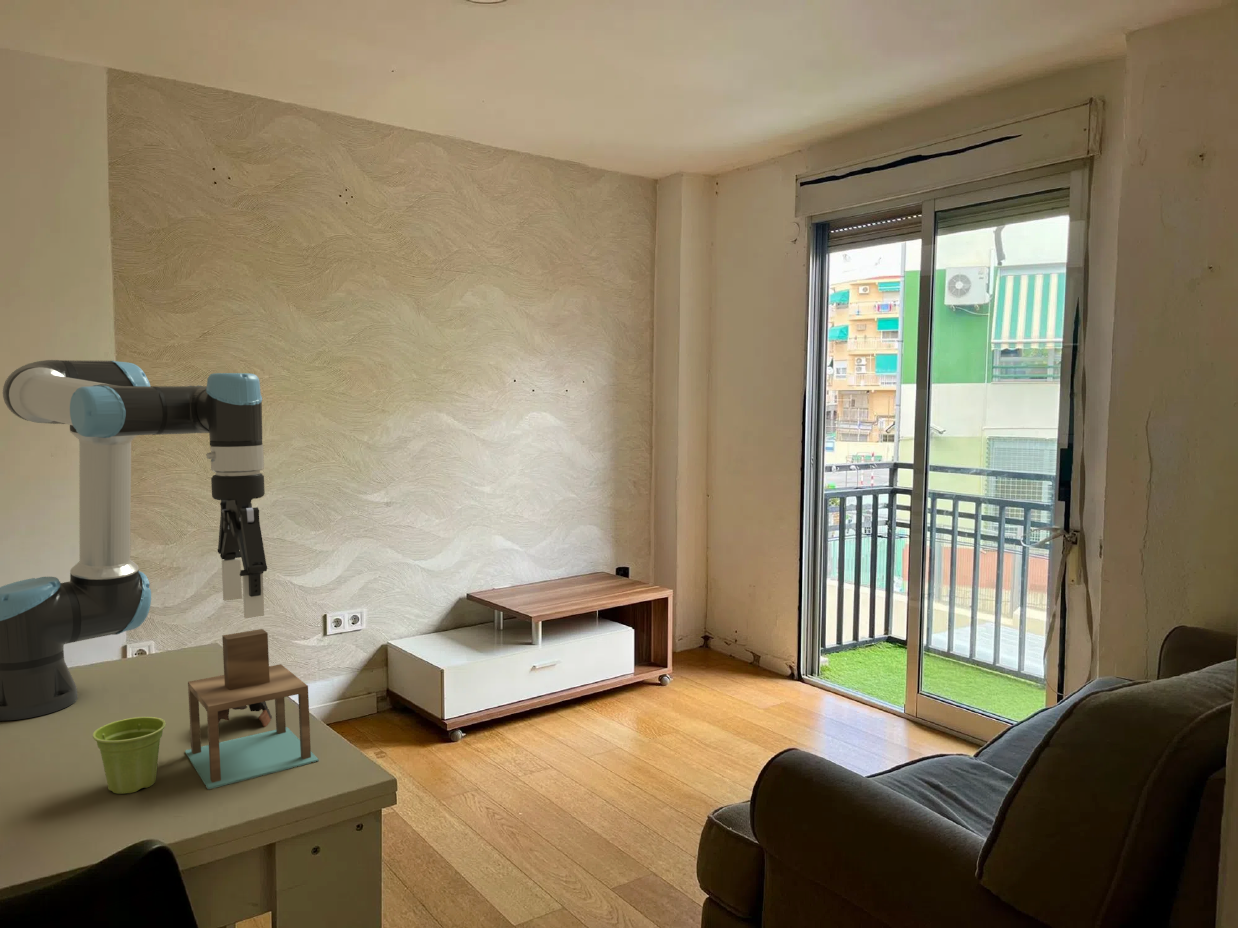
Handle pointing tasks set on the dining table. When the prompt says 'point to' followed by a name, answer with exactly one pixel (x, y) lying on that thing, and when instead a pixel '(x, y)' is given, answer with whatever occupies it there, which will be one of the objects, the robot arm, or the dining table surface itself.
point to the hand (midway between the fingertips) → (243, 607)
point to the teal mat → (251, 757)
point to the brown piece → (245, 692)
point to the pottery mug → (264, 716)
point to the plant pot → (130, 752)
